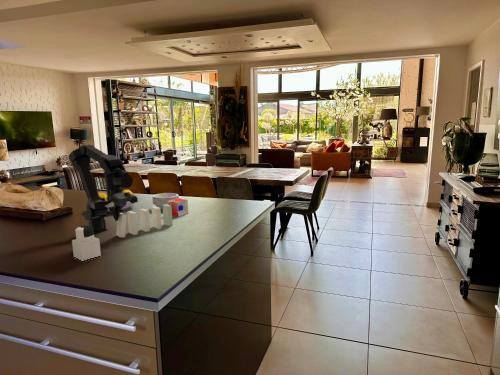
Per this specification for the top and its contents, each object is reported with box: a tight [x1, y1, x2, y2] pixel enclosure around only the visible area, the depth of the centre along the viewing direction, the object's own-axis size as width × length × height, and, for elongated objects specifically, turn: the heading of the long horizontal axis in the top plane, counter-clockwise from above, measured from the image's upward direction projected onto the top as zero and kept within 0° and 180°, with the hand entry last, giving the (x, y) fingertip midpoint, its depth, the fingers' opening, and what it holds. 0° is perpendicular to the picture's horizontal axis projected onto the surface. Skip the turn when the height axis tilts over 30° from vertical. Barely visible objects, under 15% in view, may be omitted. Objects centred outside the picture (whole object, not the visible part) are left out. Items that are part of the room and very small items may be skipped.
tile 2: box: [126, 210, 139, 236], centre depth 156 cm, size 2×5×10 cm, turn 44°
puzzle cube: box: [167, 198, 189, 218], centre depth 188 cm, size 8×8×8 cm
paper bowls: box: [152, 192, 180, 211], centre depth 203 cm, size 15×15×8 cm
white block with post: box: [71, 224, 102, 262], centre depth 128 cm, size 7×7×12 cm
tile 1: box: [115, 212, 128, 238], centre depth 152 cm, size 2×5×10 cm, turn 44°
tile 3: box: [139, 208, 151, 233], centre depth 160 cm, size 2×5×10 cm, turn 44°
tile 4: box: [150, 205, 163, 230], centre depth 164 cm, size 2×5×10 cm, turn 44°
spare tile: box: [162, 204, 173, 227], centre depth 168 cm, size 2×5×10 cm, turn 43°
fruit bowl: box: [98, 189, 136, 213], centre depth 203 cm, size 28×27×11 cm
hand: (116, 220), depth 150 cm, fingers closed
